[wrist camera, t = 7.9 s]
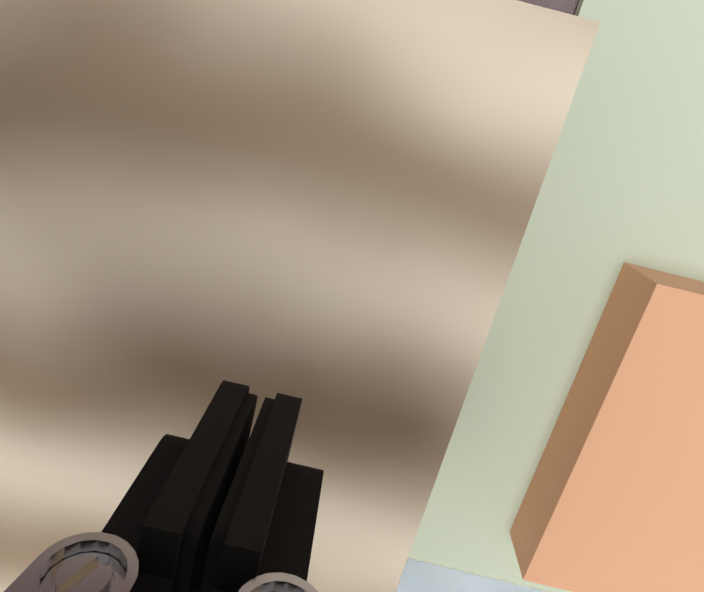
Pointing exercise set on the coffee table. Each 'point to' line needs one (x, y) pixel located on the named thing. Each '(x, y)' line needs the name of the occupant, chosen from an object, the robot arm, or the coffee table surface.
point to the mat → (577, 267)
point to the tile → (626, 451)
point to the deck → (261, 241)
